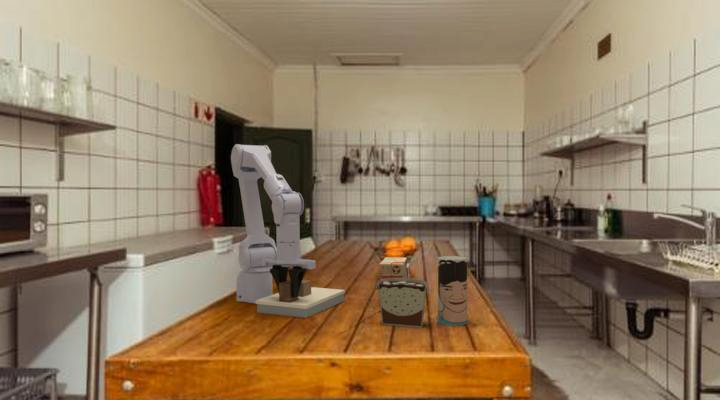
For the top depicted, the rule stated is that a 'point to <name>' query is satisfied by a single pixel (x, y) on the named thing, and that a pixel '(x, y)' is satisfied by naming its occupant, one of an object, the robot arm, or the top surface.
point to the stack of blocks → (394, 268)
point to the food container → (402, 301)
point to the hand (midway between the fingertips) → (288, 296)
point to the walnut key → (286, 292)
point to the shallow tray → (299, 311)
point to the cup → (452, 290)
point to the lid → (304, 297)
